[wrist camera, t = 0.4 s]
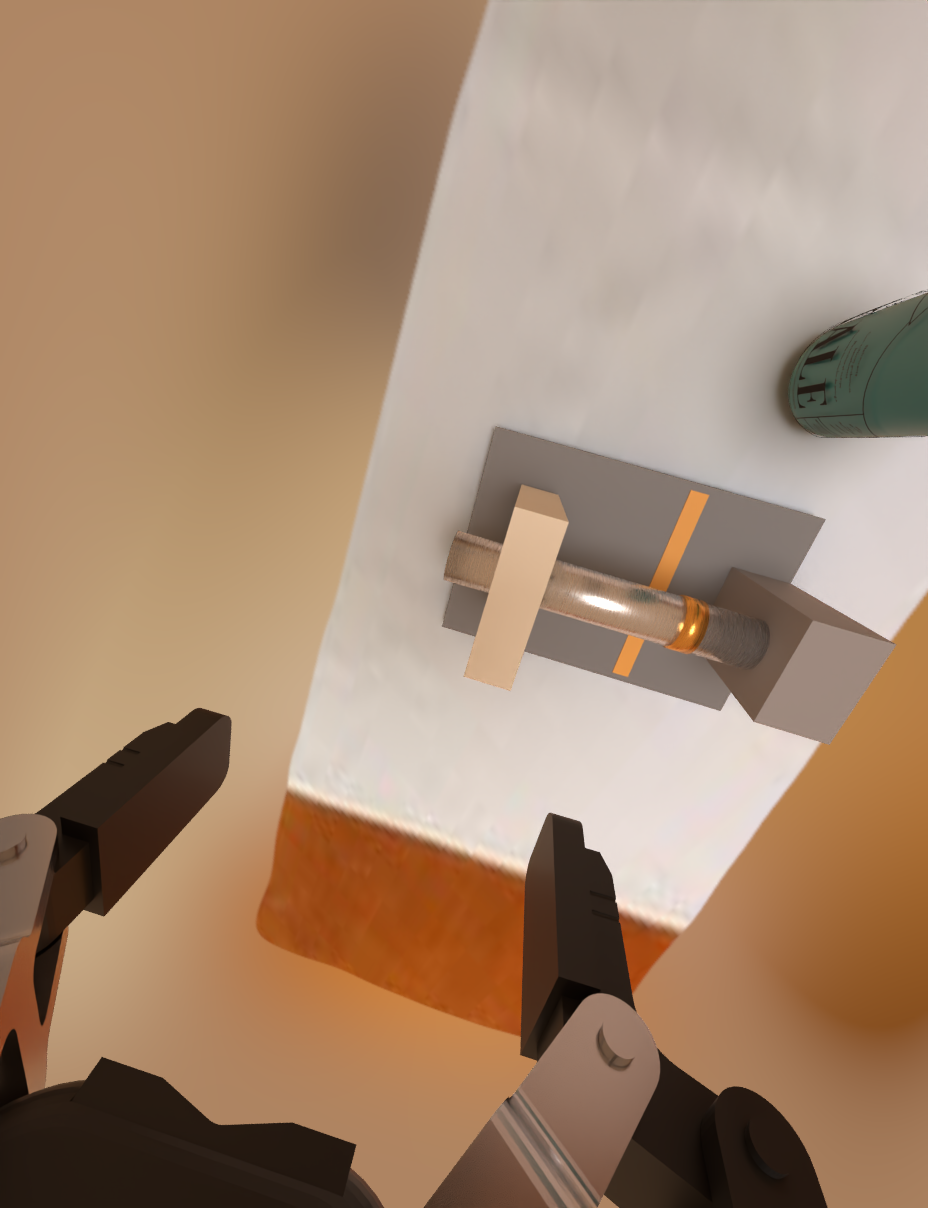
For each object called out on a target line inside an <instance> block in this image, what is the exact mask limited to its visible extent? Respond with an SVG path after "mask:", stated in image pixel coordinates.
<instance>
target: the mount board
mask: <svg viewBox="0 0 928 1208" xmlns="http://www.w3.org/2000/svg"><path fill="white" fill-rule="evenodd" d="M521 485H525V486H529V487H532V488H536V489H539V490H543V491H546V492H550V493H553V494H557V495H559V498H560V500H561V503H562V506H563V508H564V511H565V514H566V516H567V519H568V522H569V523H568V526H567V529H566V532H565V535H564V538H563V540H562V543H561V546H560V549H559V552H558V555H557V558H556V560H560V561H563V562H566V563H570V564H573V565H577V566H580V567H583V568H587V569H590V570H594V571H597V572H600V573H604V574H607V575H611V576H614V577H617V578H621V579H624V580H628V581H631V582H634V583H638V584H641V585H645V586H648V587H652V588H655V589H658V590H662V591H665V592H669V593H672V594H675V595H685V596H688V597H692V598H695V599H699V600H702V601H705V602H706V603H707V604H709V605H713V606H716V607H720V608H723V609H727V610H730V611H733V612H737V613H740V614H744V615H747V616H750V617H754V618H757V619H761V620H763V621H765V622H766V623H767V625H768V627H769V631H770V640H769V645H768V648H767V651H766V653H765V655H764V657H763V659H762V660H761V661H760V663H759V664H758V665H757V666H755V667H754V668H752V669H750V670H744V669H741V668H737V667H734V666H730V665H727V664H724V663H720V662H717V661H714V660H710V659H707V658H704V657H700V656H697V655H694V654H684V653H681V652H678V651H674V650H671V649H668V648H664V647H663V646H662V645H660V644H657V643H654V642H650V641H647V640H643V639H640V638H637V637H633V636H630V635H627V634H623V633H620V632H617V631H613V630H610V629H607V628H603V627H600V626H597V625H593V624H590V623H587V622H583V621H580V620H577V619H573V618H570V617H566V616H563V615H560V614H556V613H553V612H550V611H546V610H543V609H540V608H539V610H538V613H537V615H536V618H535V621H534V624H533V627H532V630H531V633H530V636H529V639H528V641H527V644H526V647H525V650H524V651H525V652H528V653H531V654H535V655H538V656H541V657H545V658H548V659H551V660H554V661H558V662H561V663H564V664H568V665H571V666H574V667H578V668H581V669H584V670H587V671H591V672H594V673H597V674H601V675H604V676H607V677H610V678H614V679H617V680H620V681H624V682H627V683H630V684H634V685H637V686H640V687H643V688H647V689H650V690H653V691H657V692H660V693H663V694H666V695H670V696H673V697H676V698H680V699H683V700H686V701H690V702H693V703H696V704H699V705H703V706H706V707H709V708H713V709H716V710H719V711H721V709H722V707H723V705H724V704H725V702H726V700H727V698H728V696H729V695H730V693H732V694H733V695H734V696H735V698H736V699H737V700H738V702H739V703H740V704H741V706H742V707H743V708H744V710H745V711H746V712H747V714H748V715H749V716H750V717H751V719H752V720H753V721H754V722H756V723H760V724H763V725H766V726H770V727H773V728H776V729H780V730H783V731H786V732H789V733H793V734H796V735H799V736H803V737H806V738H809V739H812V740H816V741H819V742H822V743H826V744H830V743H831V741H832V740H833V738H834V737H835V735H836V734H837V732H838V731H839V729H840V728H841V726H842V725H843V723H844V722H845V720H846V719H847V717H848V716H849V714H850V713H851V712H852V710H853V708H854V707H855V706H856V704H857V703H858V701H859V700H860V698H861V697H862V695H863V694H864V692H865V691H866V689H867V688H868V686H869V685H870V683H871V682H872V680H873V679H874V677H875V676H876V674H877V673H878V671H879V670H880V668H881V667H882V665H883V664H884V662H885V661H886V659H887V658H888V656H889V655H890V654H891V652H892V651H893V649H894V648H895V646H896V644H894V643H892V642H891V641H889V640H887V639H886V638H884V637H882V636H880V635H879V634H877V633H875V632H873V631H872V630H870V629H868V628H866V627H865V626H863V625H861V624H860V623H858V622H856V621H854V620H853V619H851V618H849V617H847V616H846V615H844V614H842V613H840V612H839V611H837V610H835V609H834V608H832V607H830V606H828V605H827V604H825V603H823V602H821V601H820V600H818V599H816V598H814V597H813V596H811V595H809V594H808V593H806V592H804V591H802V590H801V589H799V588H797V587H795V586H794V585H792V584H790V583H791V582H792V580H793V578H794V576H795V574H796V573H797V571H798V569H799V567H800V565H801V563H802V562H803V560H804V558H805V556H806V554H807V553H808V551H809V549H810V547H811V545H812V543H813V542H814V540H815V538H816V536H817V534H818V533H819V531H820V529H821V527H822V525H823V523H824V522H825V520H826V519H823V518H819V517H816V516H812V515H809V514H805V513H802V512H798V511H795V510H791V509H788V508H784V507H780V506H777V505H773V504H770V503H766V502H763V501H759V500H756V499H752V498H748V497H745V496H741V495H738V494H734V493H731V492H727V491H724V490H720V489H717V488H713V487H709V486H706V485H702V484H699V483H695V482H692V481H688V480H685V479H681V478H677V477H674V476H670V475H667V474H663V473H660V472H656V471H653V470H649V469H646V468H642V467H638V466H635V465H631V464H628V463H624V462H621V461H617V460H614V459H610V458H606V457H603V456H599V455H596V454H592V453H589V452H585V451H582V450H578V449H575V448H571V447H567V446H564V445H560V444H557V443H553V442H550V441H546V440H543V439H539V438H536V437H532V436H528V435H525V434H521V433H518V432H514V431H511V430H507V429H504V428H500V427H495V431H494V434H493V438H492V442H491V446H490V449H489V453H488V457H487V461H486V464H485V468H484V472H483V475H482V479H481V483H480V487H479V490H478V494H477V498H476V502H475V505H474V509H473V513H472V516H471V520H470V524H469V528H468V531H467V534H471V535H474V536H478V537H481V538H485V539H488V540H491V541H495V542H498V543H502V544H504V541H505V537H506V534H507V531H508V527H509V524H510V521H511V517H512V514H513V511H514V507H515V504H516V501H517V498H518V495H519V491H520V488H521ZM488 594H489V593H486V592H483V591H479V590H476V589H473V588H469V587H466V586H463V585H459V584H456V583H454V584H453V587H452V591H451V595H450V599H449V602H448V606H447V610H446V613H445V617H444V621H443V625H442V627H446V628H449V629H452V630H456V631H459V632H462V633H466V634H469V635H472V636H475V637H476V634H477V631H478V627H479V624H480V621H481V617H482V614H483V611H484V607H485V604H486V601H487V597H488Z"/></svg>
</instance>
